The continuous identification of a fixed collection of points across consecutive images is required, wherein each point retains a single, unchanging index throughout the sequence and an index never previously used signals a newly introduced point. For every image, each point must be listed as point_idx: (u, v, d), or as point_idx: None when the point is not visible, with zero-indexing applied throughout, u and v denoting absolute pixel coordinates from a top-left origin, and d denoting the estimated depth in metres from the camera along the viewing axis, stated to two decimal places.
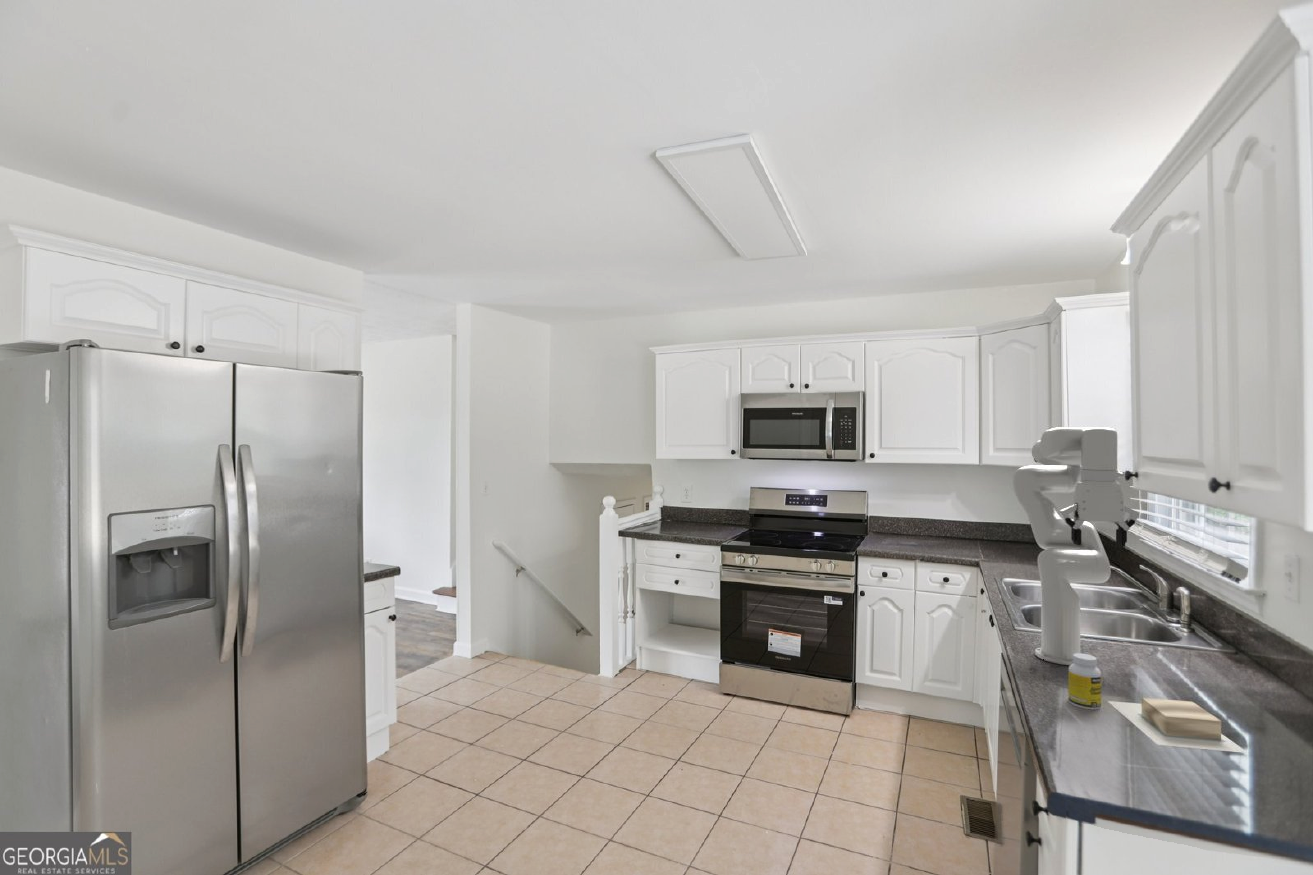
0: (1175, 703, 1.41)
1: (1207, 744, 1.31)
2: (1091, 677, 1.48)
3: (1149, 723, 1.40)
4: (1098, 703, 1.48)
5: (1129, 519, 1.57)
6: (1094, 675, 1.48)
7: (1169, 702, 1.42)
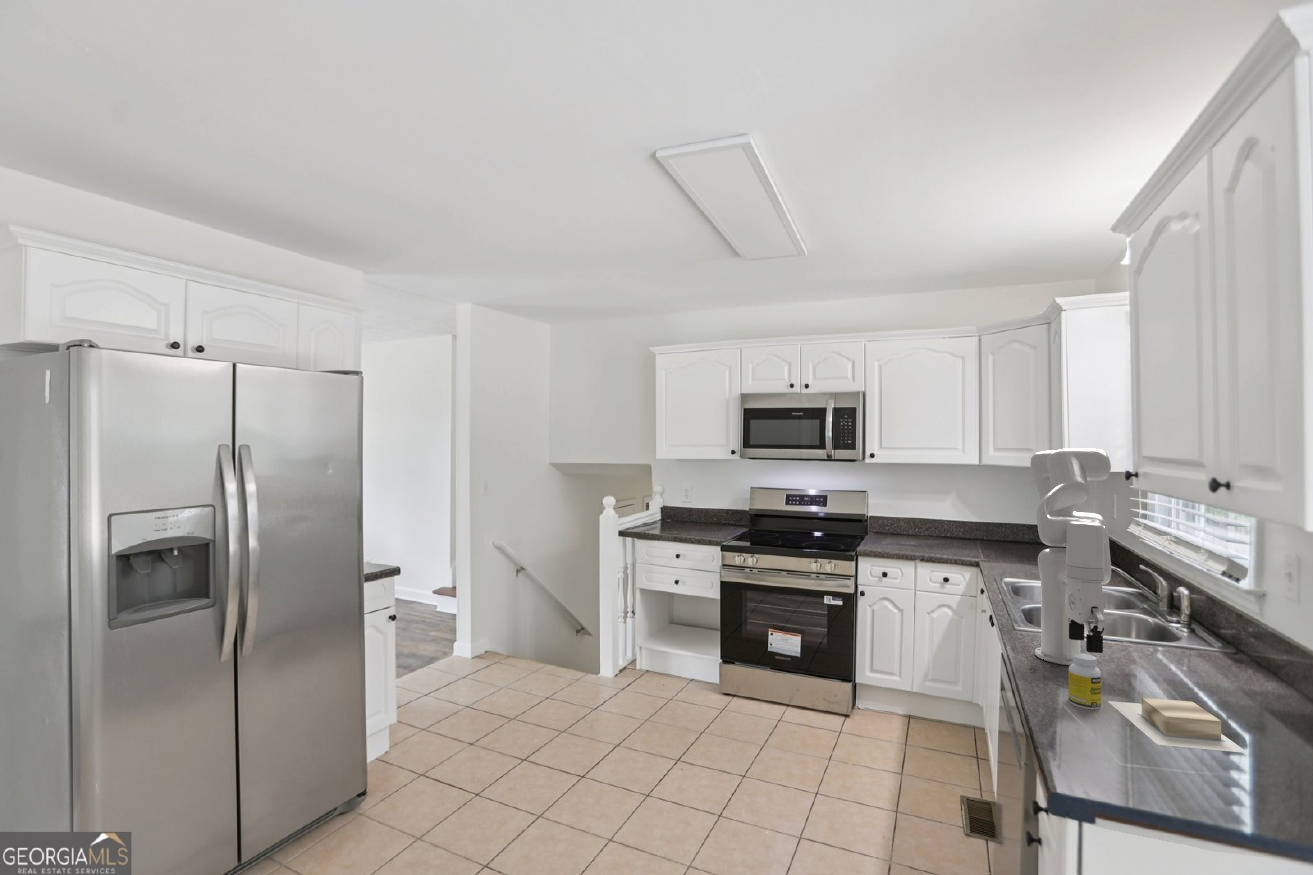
0: (1175, 703, 1.41)
1: (1207, 744, 1.31)
2: (1091, 677, 1.48)
3: (1149, 723, 1.40)
4: (1098, 703, 1.48)
5: None
6: (1094, 675, 1.48)
7: (1169, 702, 1.42)
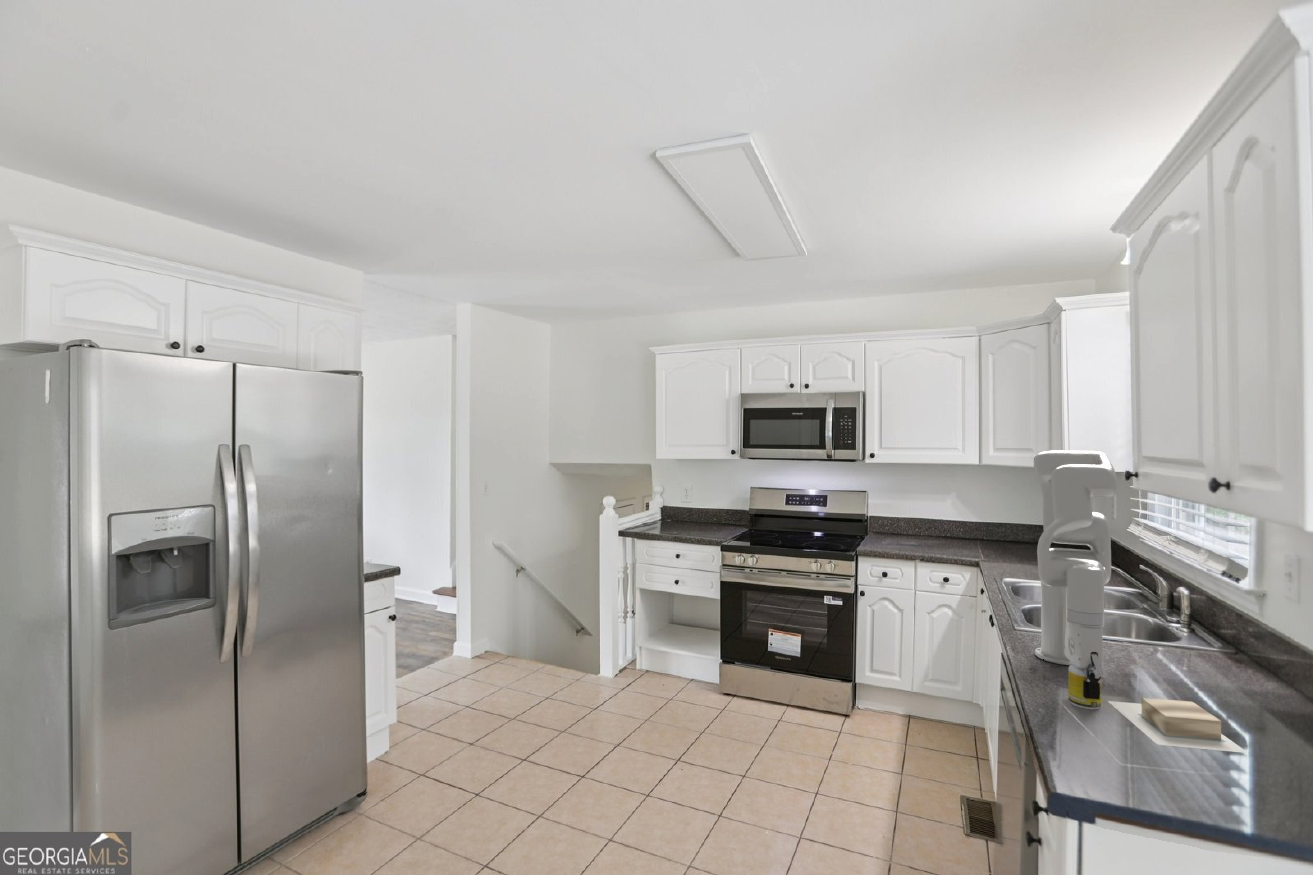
0: (1175, 703, 1.41)
1: (1207, 744, 1.31)
2: None
3: (1149, 723, 1.40)
4: (1098, 703, 1.48)
5: None
6: None
7: (1169, 702, 1.42)
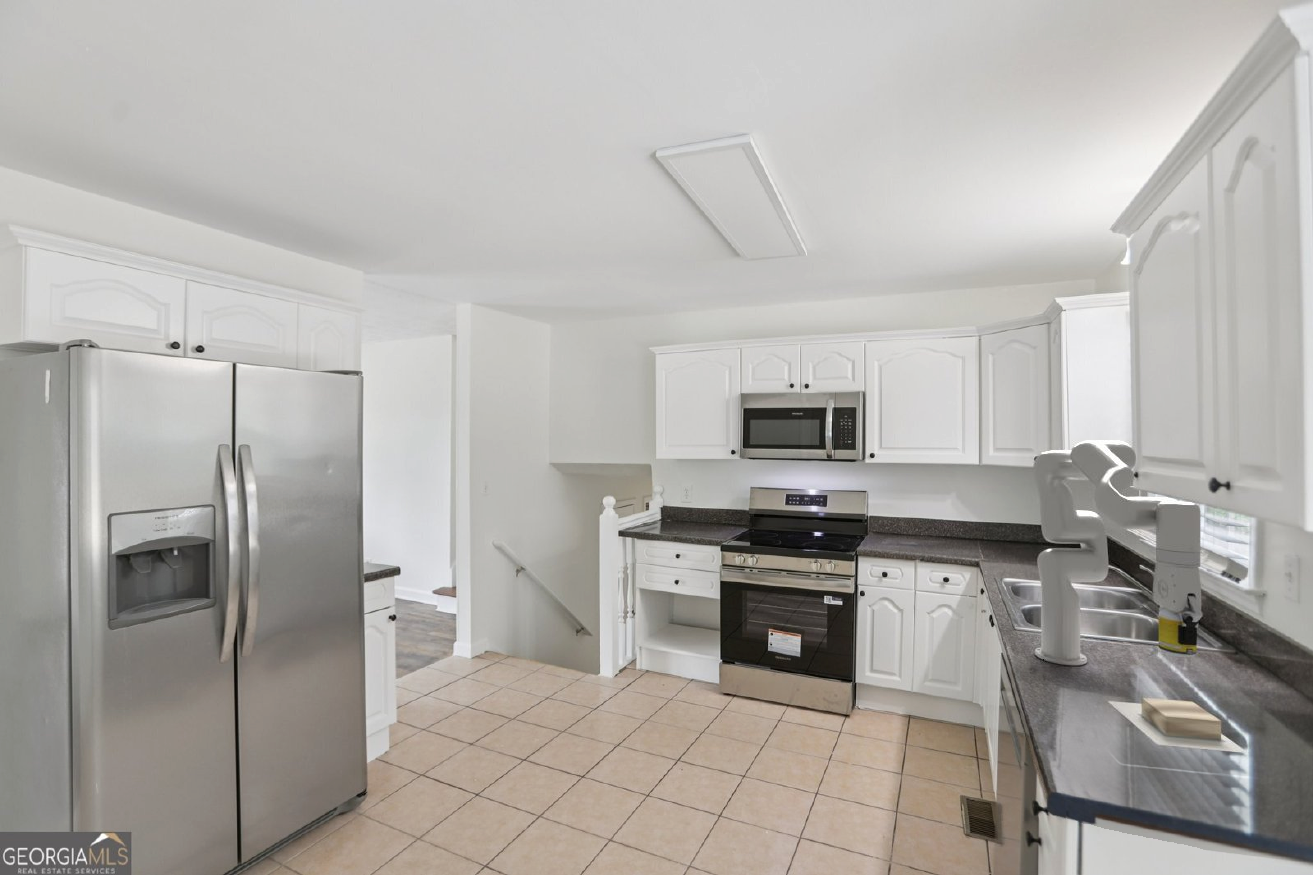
0: (1175, 703, 1.41)
1: (1207, 744, 1.31)
2: None
3: (1149, 723, 1.40)
4: (1194, 650, 1.36)
5: None
6: None
7: (1169, 702, 1.42)
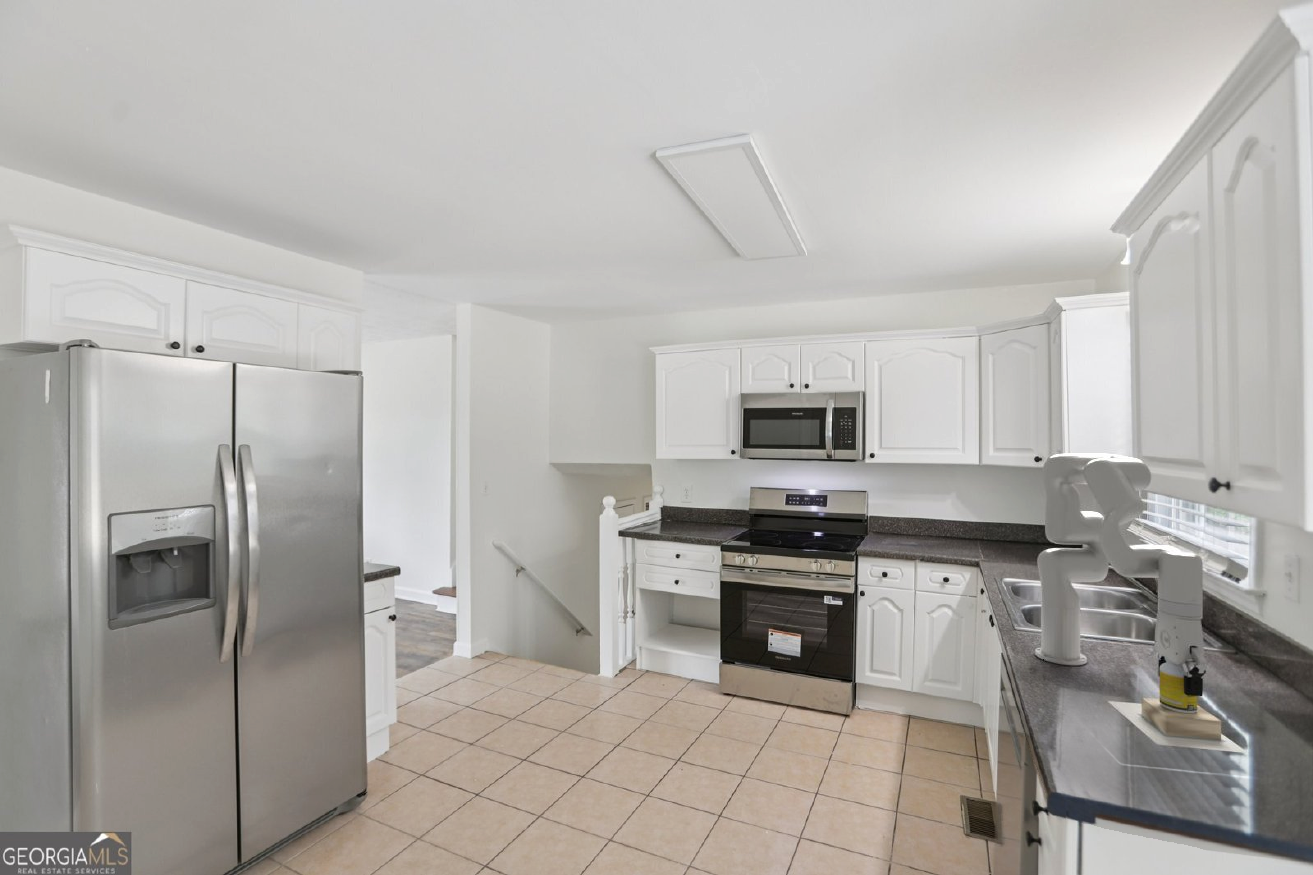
0: None
1: (1207, 744, 1.31)
2: None
3: (1149, 723, 1.40)
4: (1195, 706, 1.36)
5: None
6: None
7: None
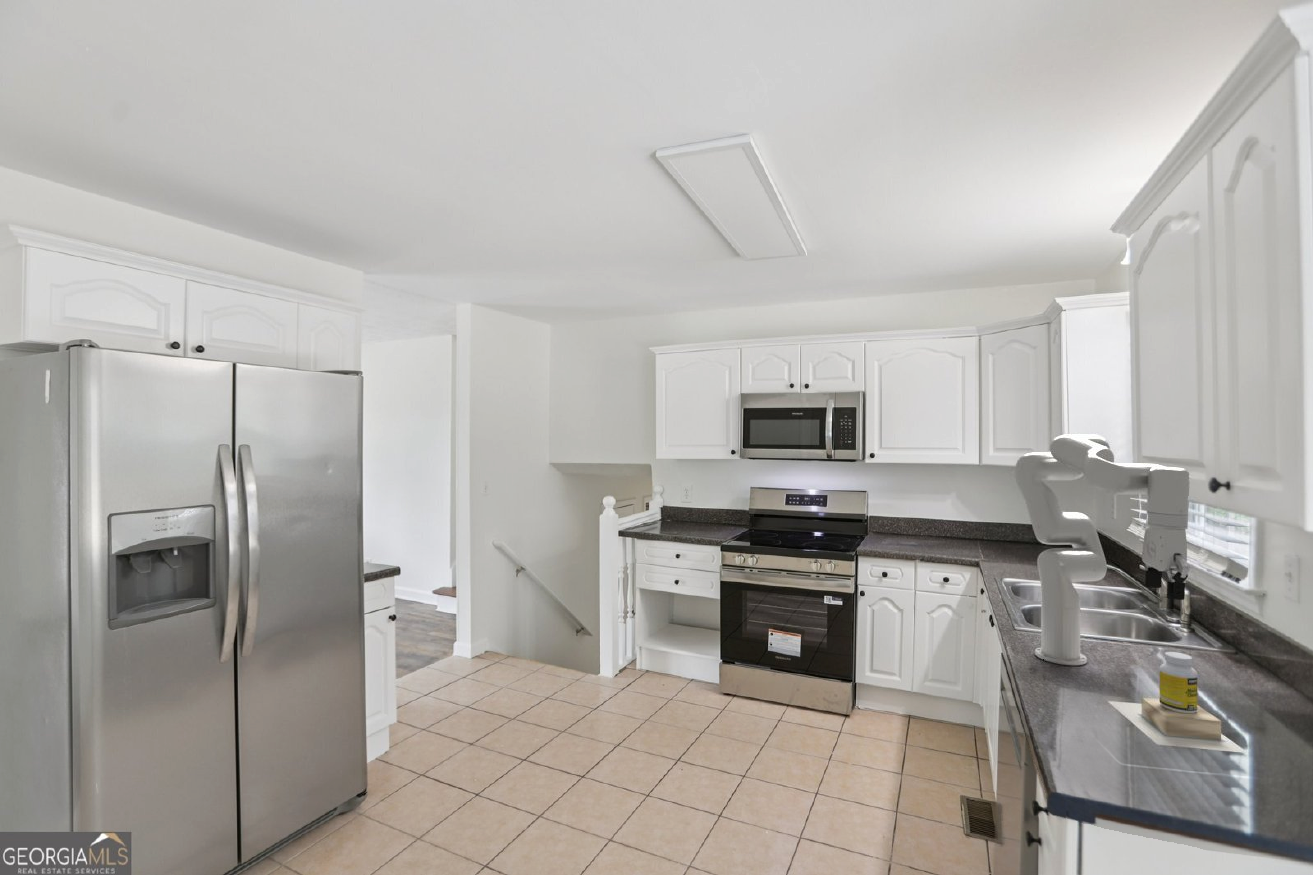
0: None
1: (1207, 744, 1.31)
2: (1187, 677, 1.36)
3: (1149, 723, 1.40)
4: (1195, 706, 1.36)
5: None
6: (1191, 675, 1.36)
7: None
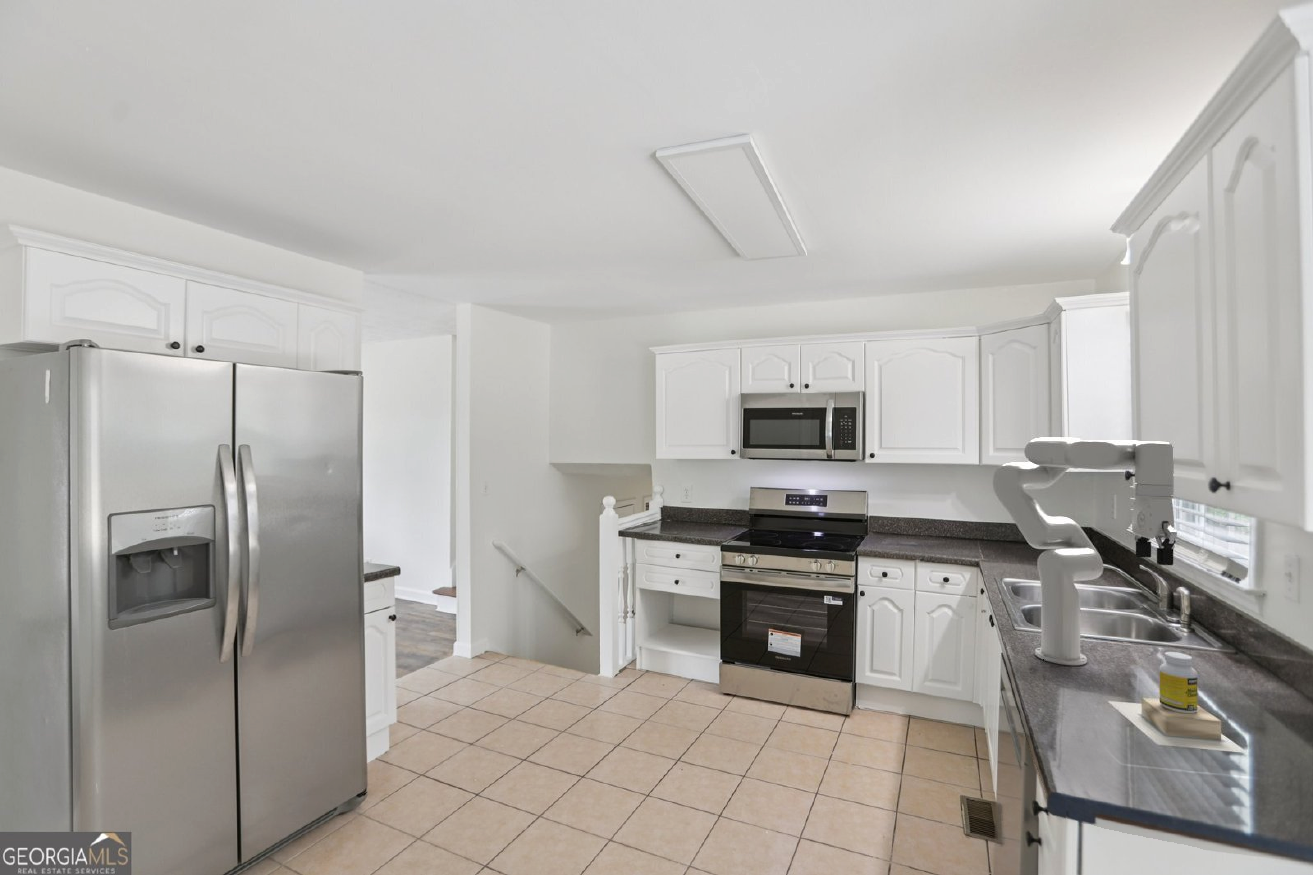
0: None
1: (1207, 744, 1.31)
2: (1187, 677, 1.36)
3: (1149, 723, 1.40)
4: (1195, 706, 1.36)
5: None
6: (1191, 675, 1.36)
7: None
